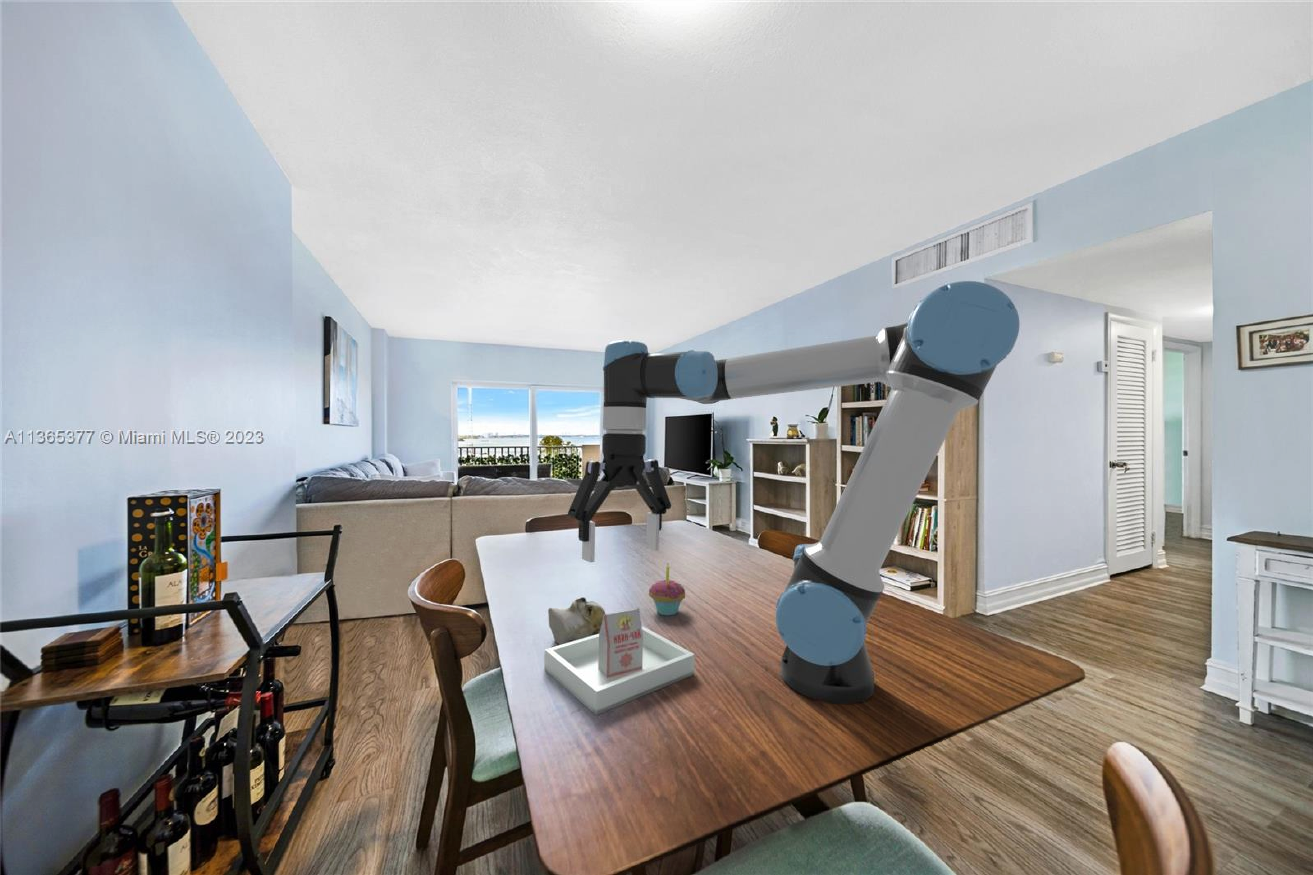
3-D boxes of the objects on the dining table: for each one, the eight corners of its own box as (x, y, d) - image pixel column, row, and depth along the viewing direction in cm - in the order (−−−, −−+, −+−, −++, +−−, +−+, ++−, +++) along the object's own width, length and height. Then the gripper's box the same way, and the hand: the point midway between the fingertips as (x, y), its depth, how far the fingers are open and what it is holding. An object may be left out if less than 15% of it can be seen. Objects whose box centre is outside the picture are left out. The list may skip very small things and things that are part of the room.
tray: (694, 674, 84) (694, 654, 84) (596, 715, 71) (596, 691, 71) (635, 640, 97) (636, 622, 97) (544, 669, 84) (544, 649, 84)
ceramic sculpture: (542, 591, 99) (610, 586, 106) (539, 634, 99) (607, 626, 106) (556, 610, 89) (630, 603, 96) (552, 656, 89) (626, 646, 96)
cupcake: (685, 619, 108) (687, 566, 108) (648, 618, 109) (649, 565, 108) (684, 605, 117) (685, 556, 117) (649, 604, 117) (650, 555, 117)
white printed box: (598, 667, 84) (599, 611, 84) (632, 659, 88) (634, 604, 87) (606, 677, 81) (608, 618, 81) (642, 668, 84) (643, 611, 84)
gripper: (665, 433, 94) (662, 541, 95) (548, 431, 79) (546, 560, 79) (691, 433, 89) (689, 548, 89) (571, 431, 73) (568, 571, 73)
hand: (621, 554), depth 84 cm, fingers open, 13 cm apart
